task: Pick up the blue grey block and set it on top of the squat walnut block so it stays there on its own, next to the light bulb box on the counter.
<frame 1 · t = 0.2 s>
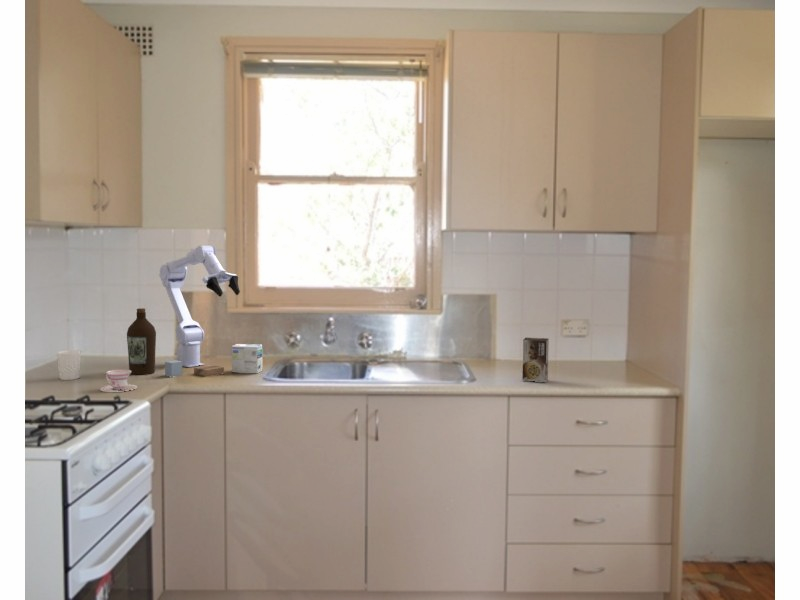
hand: (229, 294, 269), 31 cm above the countertop, tool tilted 45°, fingers open, 7 cm apart
light bulb box: (247, 372, 278), on the countertop
coffee box: (534, 381, 267), on the countertop
teacup: (118, 389, 244), on the countertop
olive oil: (142, 373, 273), on the countertop
white cup: (69, 378, 261), on the countertop
blue grey block: (173, 375, 268), on the countertop
walnut block: (208, 375, 272), on the countertop
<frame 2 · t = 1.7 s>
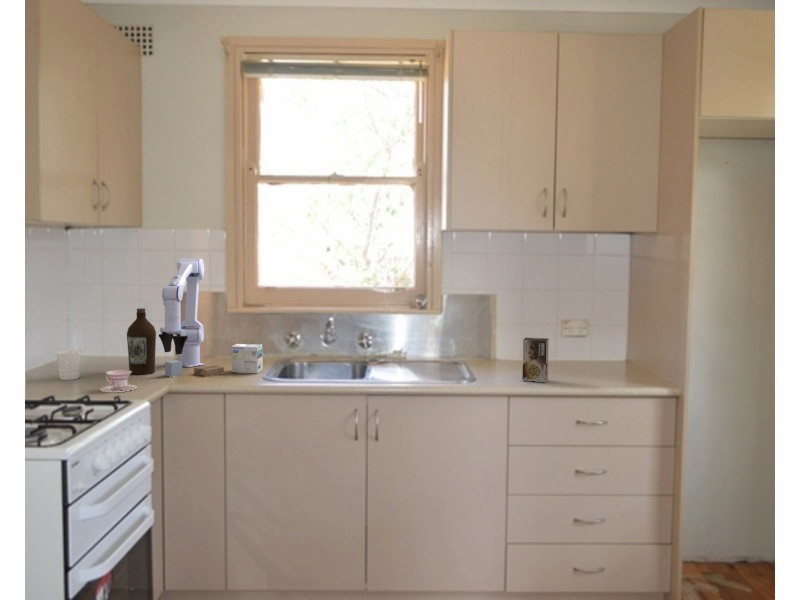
hand: (173, 353, 267), 9 cm above the countertop, tool pointing down, fingers open, 7 cm apart
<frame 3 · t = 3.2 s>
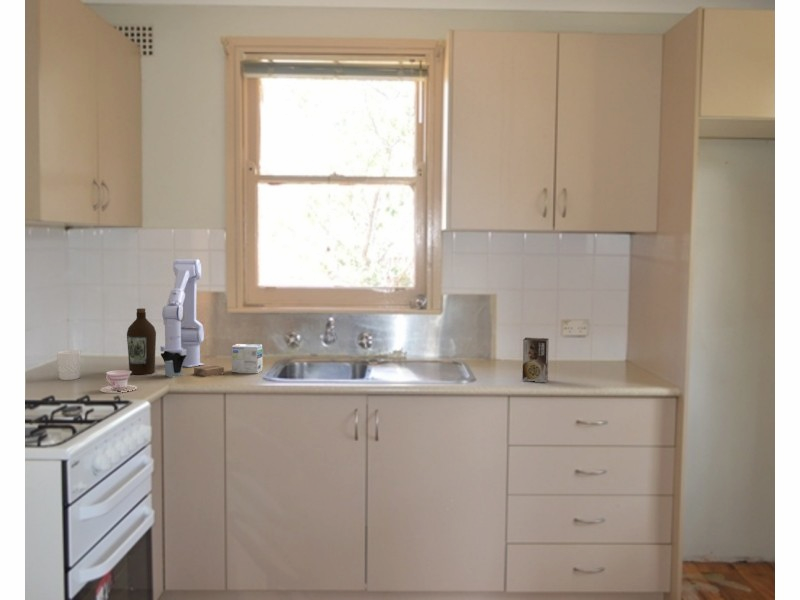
hand: (173, 371, 268), 1 cm above the countertop, tool pointing down, fingers closed on blue grey block, 4 cm apart
blue grey block: (173, 375, 268), on the countertop, touching gripper
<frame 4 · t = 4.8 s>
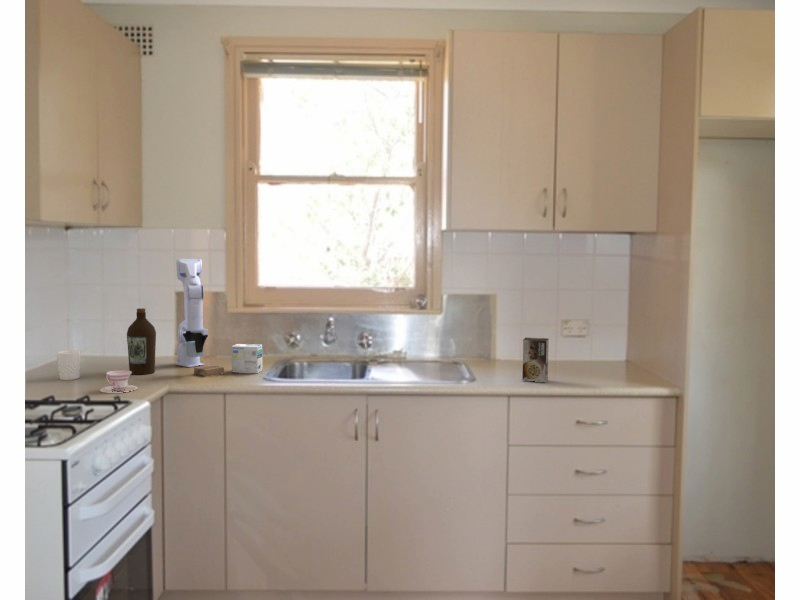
hand: (195, 351, 270), 9 cm above the countertop, tool pointing down, fingers closed on blue grey block, 4 cm apart
blue grey block: (195, 355, 270), point 7 cm above the countertop, touching gripper
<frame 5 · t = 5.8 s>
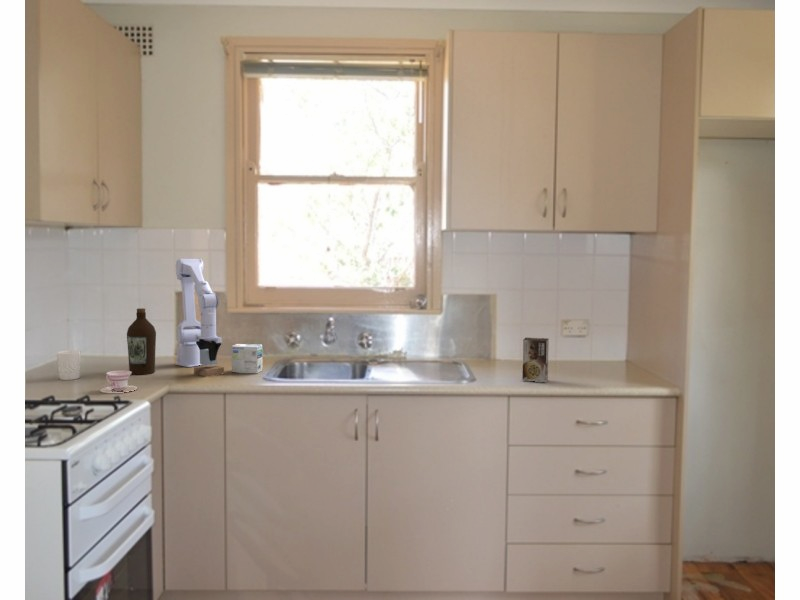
hand: (208, 359, 272), 6 cm above the countertop, tool pointing down, fingers closed on blue grey block, 4 cm apart
blue grey block: (208, 363, 272), point 4 cm above the countertop, touching gripper
when the fingers open (6 cm above the countertop, at t = 6.5 s): blue grey block drops 1 cm, resting on walnut block.
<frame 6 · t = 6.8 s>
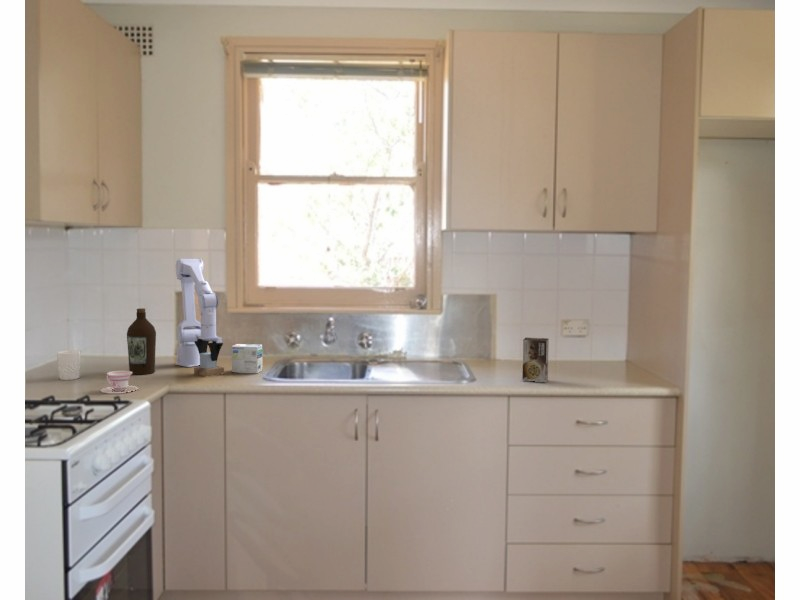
hand: (208, 359, 272), 6 cm above the countertop, tool pointing down, fingers open, 7 cm apart
blue grey block: (208, 367, 272), point 3 cm above the countertop, touching walnut block
walnut block: (209, 375, 272), on the countertop, touching blue grey block
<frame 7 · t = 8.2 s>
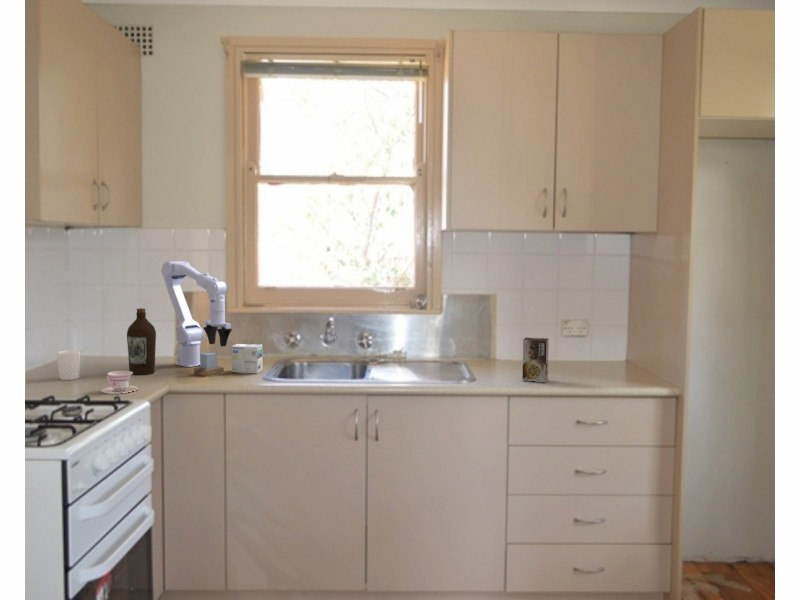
hand: (217, 345, 281), 10 cm above the countertop, tool pointing down, fingers open, 7 cm apart
blue grey block: (208, 367, 272), point 3 cm above the countertop
walnut block: (208, 375, 272), on the countertop
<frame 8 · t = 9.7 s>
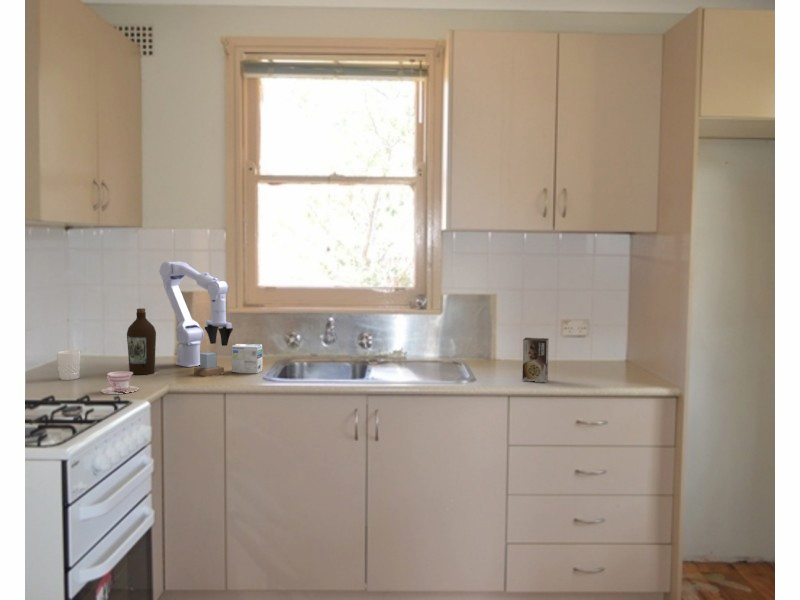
hand: (218, 344, 282), 10 cm above the countertop, tool pointing down, fingers open, 7 cm apart
at the end: blue grey block 0.2 cm off-centre on the walnut block, point 3.0 cm above the walnut block's base; blue grey block tilted 0°; the gripper is holding nothing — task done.
